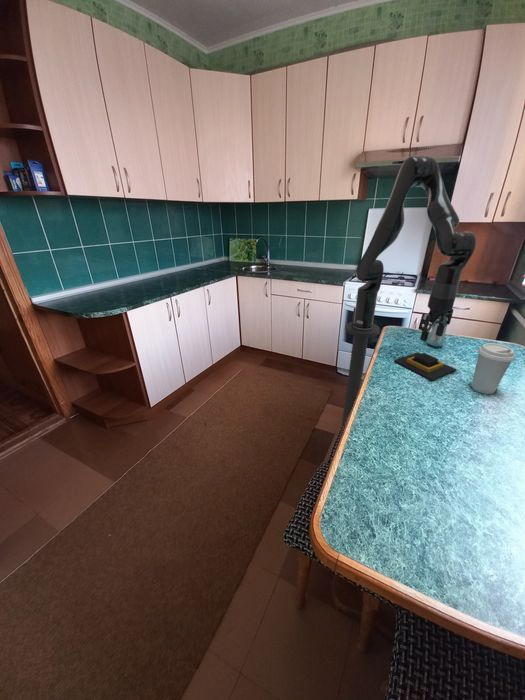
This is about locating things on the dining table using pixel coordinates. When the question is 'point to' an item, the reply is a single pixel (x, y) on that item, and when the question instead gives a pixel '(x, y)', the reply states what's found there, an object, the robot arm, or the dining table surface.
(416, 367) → the base pad
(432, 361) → the black block
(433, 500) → the dining table surface
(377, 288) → the robot arm
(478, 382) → the coffee cup
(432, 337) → the plastic bottle
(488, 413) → the dining table surface
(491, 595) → the dining table surface
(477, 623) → the dining table surface
